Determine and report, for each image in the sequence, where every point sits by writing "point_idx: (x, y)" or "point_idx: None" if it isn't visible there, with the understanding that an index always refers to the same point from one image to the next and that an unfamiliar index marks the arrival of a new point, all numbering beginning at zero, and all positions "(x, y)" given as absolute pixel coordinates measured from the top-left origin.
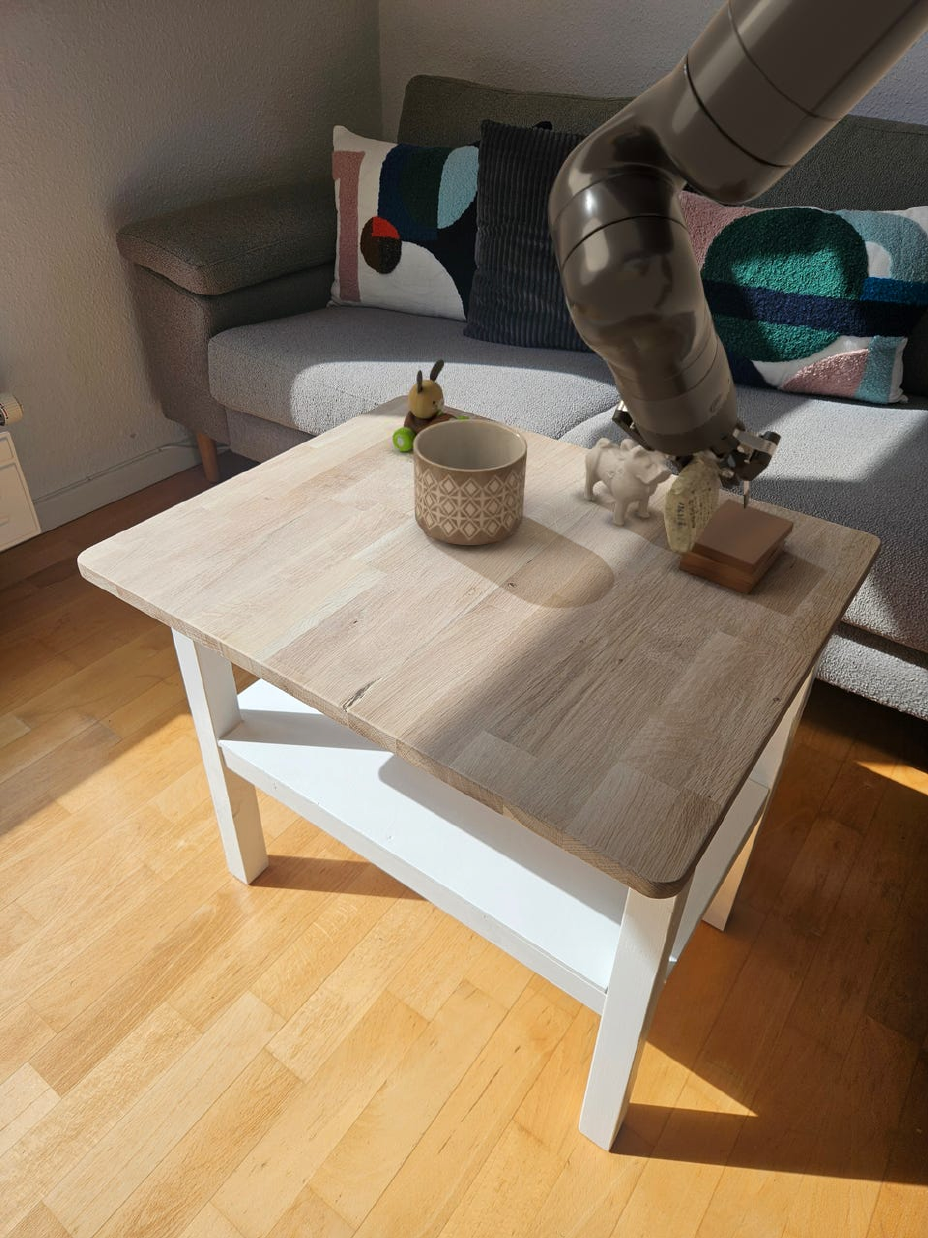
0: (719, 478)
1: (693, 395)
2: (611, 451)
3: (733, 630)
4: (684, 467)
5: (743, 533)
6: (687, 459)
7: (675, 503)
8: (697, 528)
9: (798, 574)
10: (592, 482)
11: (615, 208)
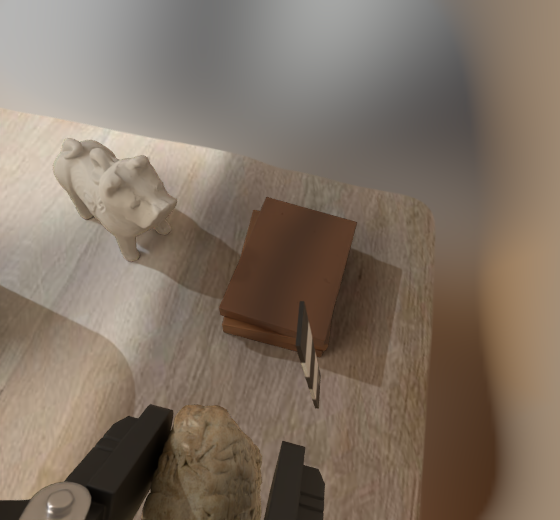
0: (252, 468)
1: None
2: (83, 164)
3: (317, 452)
4: (140, 499)
5: (298, 269)
6: (140, 485)
7: None
8: None
9: (371, 289)
10: (80, 199)
11: None
